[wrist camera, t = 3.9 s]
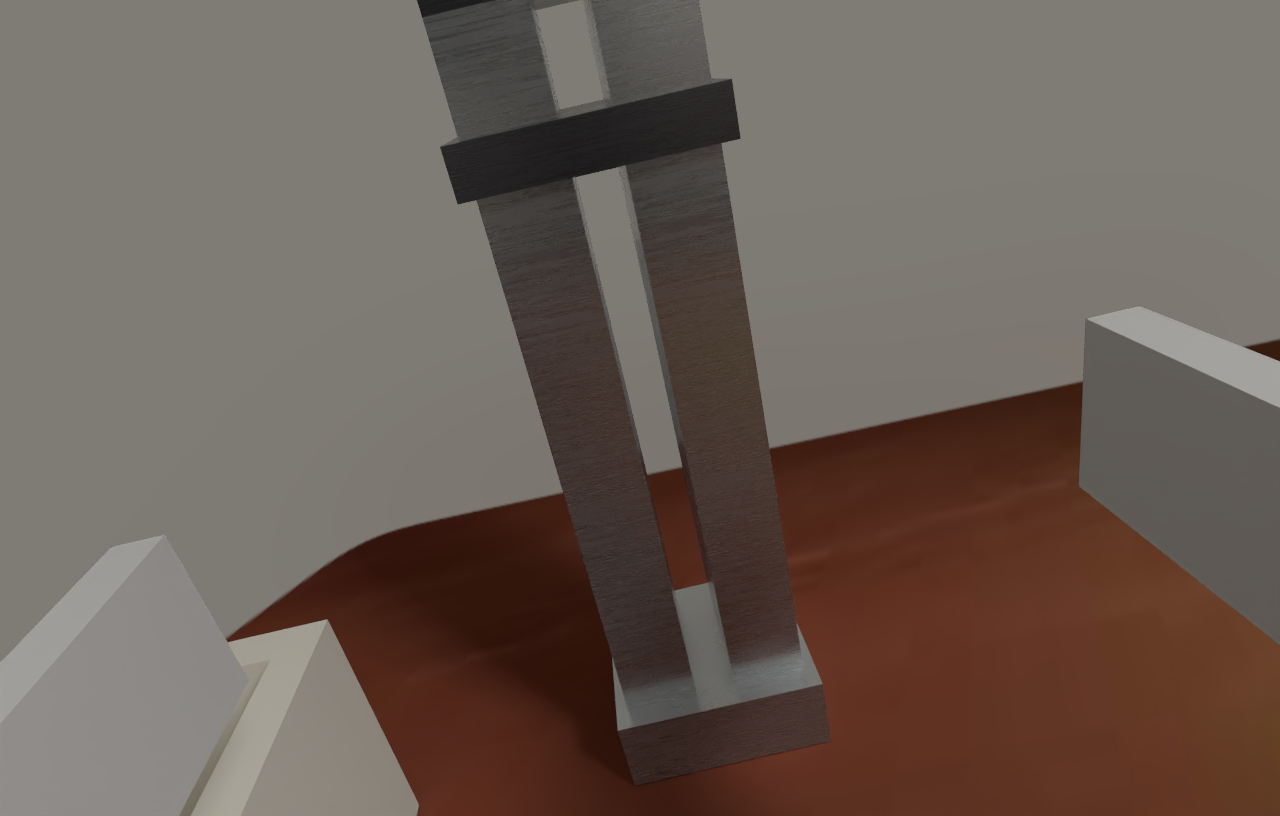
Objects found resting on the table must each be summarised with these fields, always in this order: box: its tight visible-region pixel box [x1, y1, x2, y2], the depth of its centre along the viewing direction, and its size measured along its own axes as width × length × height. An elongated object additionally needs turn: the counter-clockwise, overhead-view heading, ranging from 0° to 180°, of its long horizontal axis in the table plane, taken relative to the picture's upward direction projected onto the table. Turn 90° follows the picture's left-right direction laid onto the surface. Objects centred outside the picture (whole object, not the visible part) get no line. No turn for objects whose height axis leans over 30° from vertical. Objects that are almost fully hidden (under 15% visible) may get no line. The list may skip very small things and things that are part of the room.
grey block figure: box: [417, 0, 831, 785], centre depth 17 cm, size 5×5×20 cm
